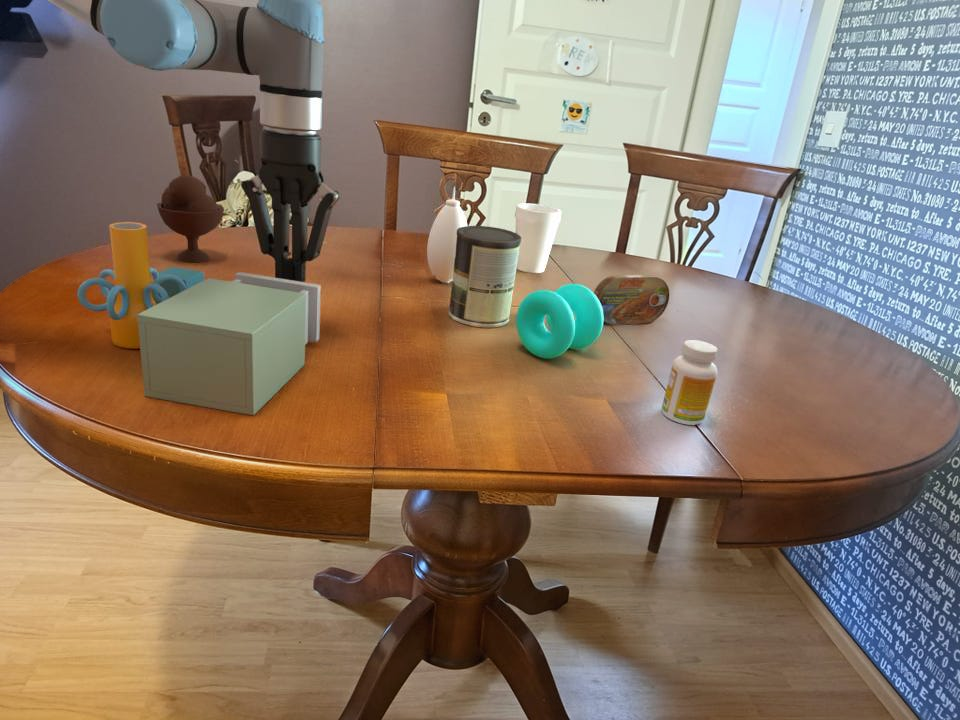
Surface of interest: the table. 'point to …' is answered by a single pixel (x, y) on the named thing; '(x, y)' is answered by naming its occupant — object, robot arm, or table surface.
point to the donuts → (559, 320)
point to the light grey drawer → (295, 286)
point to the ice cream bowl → (190, 214)
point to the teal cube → (185, 275)
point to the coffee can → (483, 276)
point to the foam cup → (535, 235)
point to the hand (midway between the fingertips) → (290, 305)
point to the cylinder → (128, 283)
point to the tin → (632, 299)
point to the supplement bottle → (690, 383)
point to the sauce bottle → (445, 240)
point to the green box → (222, 345)
